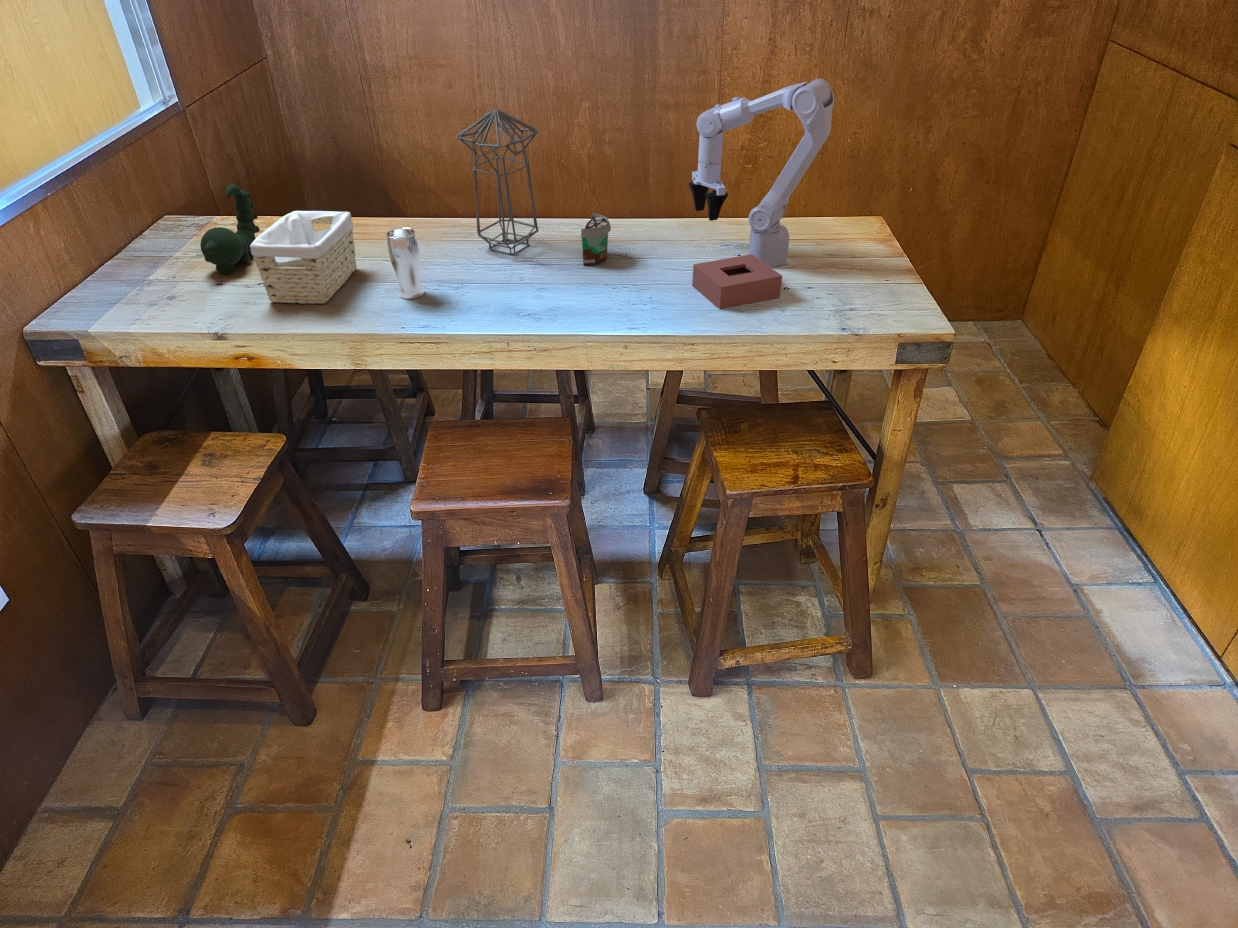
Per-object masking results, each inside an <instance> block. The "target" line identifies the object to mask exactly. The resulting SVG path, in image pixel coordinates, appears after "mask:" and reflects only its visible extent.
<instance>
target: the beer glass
mask: <svg viewBox="0 0 1238 928" xmlns="http://www.w3.org/2000/svg"><path fill="white" fill-rule="evenodd" d="M385 235H386V236H385V238H386V246H387V252H388V257H389V260H390V263H391V266H392V269H393V272H394V274H395V277H396V280H397V284H398V285H397V290H398V291H397V295H398V297H400V298H401V299H405V300H413V299H417V298H420V297H422V296H423V295H424V294H425V290H424V287H423V283H422V281H421V254H420V247H419V242H418V238H417V234H416V230H415V229H413V228H410V227H396V228H392V229H390V230H387V232H386V233H385Z"/></svg>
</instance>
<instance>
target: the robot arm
mask: <svg viewBox="0 0 1238 928" xmlns="http://www.w3.org/2000/svg"><path fill="white" fill-rule="evenodd" d="M835 100H836V99H835V96H834V92H833V89H832V86H831V84H830V83H829V82H828V81H827V80H826V79H823V78H816V79H813V80H812V81H810V82H809V81H803V82H799V83H795V84H792V85H788V86H785V87H783V88H781V89H778V90H775V91H773V92H770V93H767V94H766V95H762V96H760V97H758V98H756V99H753V100H750V99H749V98H747V97H744V96H743V97H740V96H736V97H733V98H732V101H730V102H727V103H725V104H721V103H718V104H715V106H714V107H712V108H710V109H708V110H706V111H703V112H702V113H701V114H700V115H699V116H698V117H697V120H696V124H695V125H696V129H697V132H698V133H699V142H698V156H697V157H698V158H697V159H698V161H697V170H695V171H692V172H691V179H692V181H691V182H688V186H689V187H688V188H689V189H690V191H691V194H692V199H693V206H694V209H695V212H701V211H705V210H704V209H705V206H706V202H707V211H708V212H707V213H708V214H707V215H708V217H707V218H708V221H710V222H713V221H718V218H719V217H720V212H721V210H722V207H723V205H724V203H725V201H726V200H727V198H728V197H729V193H728V192H726V186H725V185H724V184H723V181H722V179H721V170H722V157H723V156H722V155H723V154H722V153H723V144H724V143H723V140H724V139H723V138H724V131H726V132H727V131H729V130H732V129H735V128H738V127H741V126H743V125H747V124H750V123H751V122H752V121H753V118H754V116H755V115H758V114H761V113H764V112H769V111H771V110H774V109H779V108H782V107H783V108H784V109H786V110H787V111H792V110H793V112H794V113H795V114H796V116H797V118H798V119H799V120H800V122H801V124H802V127H803V129H804V135H803V136H802V138H801V139H800V141H799V143H798V144H797V146H796V148H795V149H794V151H793V152H792V154H791V155H790V157H789V159H788V160H787V162H786V164H785V166H784V167H783V168H782V171H780V174H778V177H777V178H776V180H775V181H774V184H773V185H772V187H770V190H769V191H768V192H767V194H766V195H765V196H764V197H763V198H762V199H761V201H760V203H759V204H758V205H757V206H755V207H754V208H752V209H751V211H750V212H749V215H748V223H749V225H750V235H749V236H750V237H749V244H748V254H747V255H750V254H752V255H754V256H755V257H757V258H758V259H759V260H761V261H762V262H764V263H765V264H767V265H768V266H769V267H771V268H774V267H778V266H784V265H788V264H789V261H788V259H787V258H788V252H789V245H790V233H789V230H788V229H787V227H786V226H785V225H783V224H781V223H780V220H782V219H783V218H784V216H785V214H786V208H787V205H788V203H789V201H790V197H791V195H792V194H793V192H794V190H795V189H796V187H797V186H798V185H799V182H800V181H801V180H802V178H803V176H804V175H805V173H806V172H807V170H808V169H809V167H810V165H811V164H812V162H813V161H814V159H815V158H816V156H817V155H818V153H819V151H820V150H821V148H822V146H823V145H824V144H825V142H826V141H827V139H828V137H829V136H830V133H831V130H832V118H833V117H832V116H833V107H834V103H835ZM709 190H711V192H710V191H709ZM708 191H709V192H708Z"/></svg>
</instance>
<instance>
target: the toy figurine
mask: <svg viewBox="0 0 1238 928" xmlns="http://www.w3.org/2000/svg"><path fill="white" fill-rule="evenodd" d="M231 195H233V199H234V200H235V202H234V209H235V210H236V214H235V218H236V220H237V223H236V231H235V232H234V231H233V230H231V229H229V228H226V227H220V226H219V227H212V228H210V229H208V230H207V231H205V233H204V234H203V235H202V237H201V239H200V244H199V245H200V250H201V251H200V252H201V253H202V255H203V257H204V260H205V262H207V263H211V264H212V265H215V270H216V271H217V272H218V273H219V274H221V275H230V274H232V273H234V271H235V266H234V265H235V264H237V263H238V262H239V261H240V262H242V263H243V264H248V263H249V262H250V261H251V258H252V259H253V258H254V257H253V255H252V253H251V248H250V245H251V244H252V242H253V241H254V240H255V239H256V238H257V237H256V235H255V234H256V233H259V232H260V227H259V226H257V225H256V224H255V222H254V221H255V220H257V219H258V215H257V213H253V212H252V209H253V208H254V207H255V204H254V202H252V201H249V198H251V196H252V195H251V193H250V192H247V191H246V190H244V189H241V188H240V186H238V185H236V184H232V183H231V184H228V185H227V186H226V188H225V196H226V198H227V199H230V198H231Z"/></svg>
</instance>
